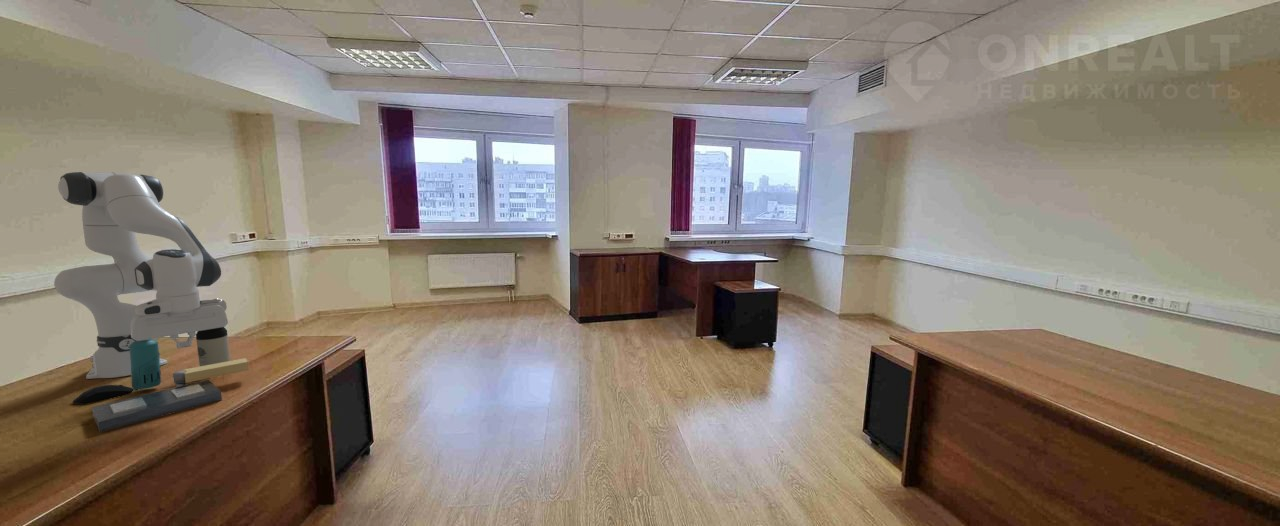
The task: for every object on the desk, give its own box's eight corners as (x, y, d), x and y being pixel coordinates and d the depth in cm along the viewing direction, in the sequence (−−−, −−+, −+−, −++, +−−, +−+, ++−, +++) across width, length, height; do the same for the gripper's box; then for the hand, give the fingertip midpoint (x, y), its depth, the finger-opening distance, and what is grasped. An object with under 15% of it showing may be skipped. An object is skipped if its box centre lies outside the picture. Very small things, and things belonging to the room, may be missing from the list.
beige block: (174, 384, 135) (173, 375, 134) (173, 380, 138) (172, 371, 138) (248, 370, 148) (247, 361, 147) (246, 366, 151) (245, 358, 151)
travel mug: (226, 365, 161) (221, 319, 158) (234, 370, 157) (229, 322, 154) (197, 372, 154) (191, 324, 151) (204, 377, 150) (199, 328, 148)
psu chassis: (92, 413, 124) (90, 402, 123) (207, 385, 144) (206, 375, 143) (99, 432, 114) (98, 420, 114) (221, 399, 134) (220, 389, 134)
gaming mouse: (148, 391, 139) (147, 379, 139) (73, 408, 127) (71, 395, 127) (145, 386, 143) (144, 374, 142) (72, 402, 131) (70, 389, 130)
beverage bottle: (142, 394, 135) (137, 333, 133) (125, 392, 136) (121, 331, 135) (167, 387, 142) (164, 328, 140) (151, 385, 143) (147, 327, 141)
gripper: (222, 296, 140) (227, 337, 141) (125, 307, 123) (132, 354, 125) (228, 299, 136) (233, 340, 138) (129, 311, 119) (136, 358, 121)
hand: (184, 347), depth 131 cm, fingers closed
